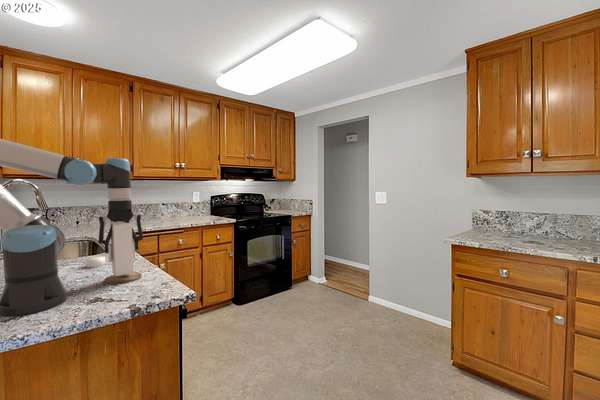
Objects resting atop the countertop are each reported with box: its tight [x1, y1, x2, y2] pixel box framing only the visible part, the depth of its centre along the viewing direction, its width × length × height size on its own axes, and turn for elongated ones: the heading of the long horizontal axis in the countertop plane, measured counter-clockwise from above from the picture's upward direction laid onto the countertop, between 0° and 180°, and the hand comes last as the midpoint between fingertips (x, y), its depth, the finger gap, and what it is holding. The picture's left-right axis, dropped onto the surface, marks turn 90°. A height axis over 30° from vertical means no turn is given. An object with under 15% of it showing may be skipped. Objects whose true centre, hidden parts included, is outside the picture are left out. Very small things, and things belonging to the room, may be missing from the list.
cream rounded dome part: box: [85, 255, 106, 269], centre depth 128 cm, size 7×7×4 cm
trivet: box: [104, 271, 142, 285], centre depth 110 cm, size 12×12×1 cm
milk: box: [109, 220, 135, 276], centre depth 110 cm, size 6×6×22 cm
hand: (122, 259), depth 110 cm, fingers closed on milk, 7 cm apart
